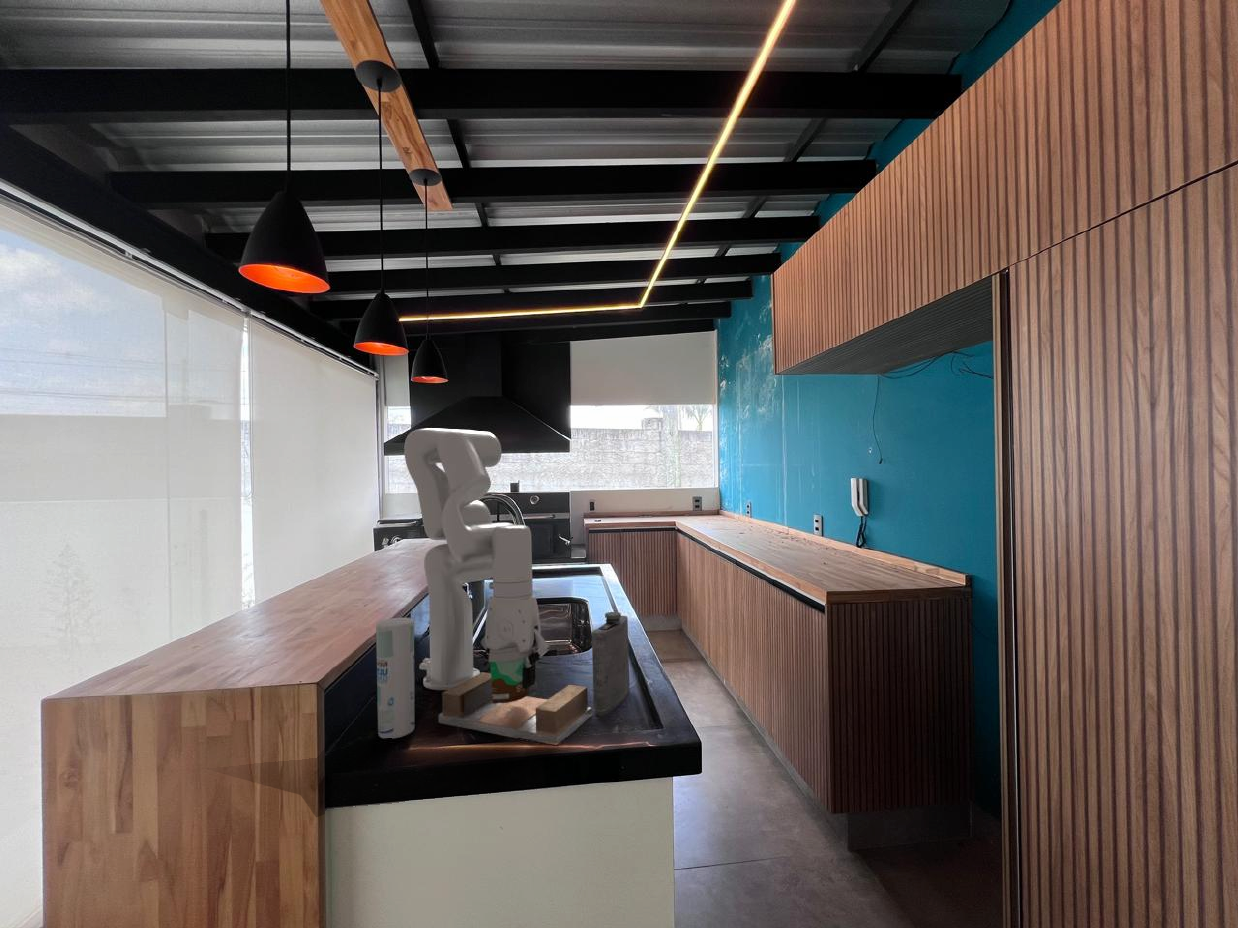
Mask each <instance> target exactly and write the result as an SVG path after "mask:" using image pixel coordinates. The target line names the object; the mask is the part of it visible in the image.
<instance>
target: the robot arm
mask: <svg viewBox="0 0 1238 928" xmlns="http://www.w3.org/2000/svg"><path fill="white" fill-rule="evenodd" d="M403 452H404V461H405V465H406V466H407V470H408V473H409V475H410V477H411V479H412V481H413V484H414V485H415V487H416V491H417V496H418V503H419V508H420V514H421V519H422V523H423V527H424V532H425V534H426V536H427V538H429V539H430V540H432V541H446V543H443V544H439V545H436V546H433V547H431V548H430V549H429V550H428V551H427V553H426V554H425V556H424V559H423V561H424V563H423V568H424V572H425V578H426V584H427V591H428V605H429V606H428V608H429V609H428V610H429V615H428V616H429V658H428V657H425V658H424V659H423V660H422V663H420V664H419V670H424V671H425V670H426V675H425V676H424V677H423V681H422V684H423V686H424V687H425V688H426V689H429V690H434V691H447V690H449V689H451V688H453V687H454V686H456V685H458V684H460V683H462V682H464V681H466V680H468V679H470V678H472V677H474V676H476V675H478V674H480V673H481V672H480V670H479V669H478V668H475V667H474V645H473V644H474V641H473V640H474V638H473V637H474V636H473V635H474V634H473V633H474V632H473V629H474V628H473V604H472V600H471V597H470V595H469V594H468V593H467V592H466V591H465V589H464V588H463V586H462V584H463V585H464V584H466V583H467V584H468V583H472V582H478V581H484V580H490V579H492V581H490V582H489V585H488V587H489V589H490V590H492V595H491V596H489V600H488V604H487V609H486V616H485V617H486V618H485V634H484V636H483V637H482V639H481V640H480V645H481V646H482V647H483V649H484V650H486V653H487V654H488V655H489V653H490V650H498V649H509V648H514V647H518V650H519V652H520V653H526V654H527V656H526V657H524V664H525V667H523V688H524V689H527V688H529V687H530V688H531V687H532V686H533V685H535V683H536V664H537V663H538V661H540V659H541V658H542V657H543V656H544V655H545V654H546V653H547V652H548V651H549V650H550V645H549V644H548V642H547V641H546V640H545V638H544V637H543V635H541V621H540V612H539V607H538V601H537V597H536V595H533V594H534V593H533V592H534V590H533V589H534V588H533V553H532V552H533V551H532V531H531V529H530V527H529V526H527V525H524V524H515V523H511V522H505V521H503V522H493V518H492V515H491V511H490V510H489V507H488V506H487V504H486V503H484V502H483V501H481V500H479V499H481V498H482V497H484V496H485V495H486V494H487V493H488V492H489V490H490V489H491V485H492V482H491V481H492V480H491V477H490V476H489V473H488V471H487V468H492V467H495V466H497V465H498V464H499V463H500V460H501V458H502V446H501V442H500V440H499V438H498V437H497V436H496V435H495V434H493V433H492V432H490V431H479V430H471V429H453V428H452V429H450V428H438V427H437V428H436V427H435V428H434V427H433V428H432V427H431V428H430V427H429V428H427V427H426V428H419V429H415V430H413V431H411V432H410V433H409V434H407V436H406V438H405V442H404V450H403ZM437 464H441V466H442V468H443V469H442V468H440V467H439V466H438V465H437ZM534 647H535V649H534ZM536 648H537V650H536ZM532 650H533V653H532V654H530V657H529V653H528V652H529V651H532Z"/></svg>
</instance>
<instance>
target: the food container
mask: <svg viewBox="0 0 1238 928" xmlns="http://www.w3.org/2000/svg"><path fill="white" fill-rule="evenodd" d="M534 649H535V650H536V647H534ZM528 653H529V657H530V654H532V653H533V650H532V651H529V652H528ZM526 656H527V654H526V653H520V652H519V650H518V647H514V648H509V649H498V650H490V653H489V654H488V663H489V664H490V673H491V681H492V696H493V703H508V702H513V701H517V700H520V699H523V698H524V697H526V696H528V695H529V694H530V689H531V686H530V687H529V688H527V689H524V688H523V667H525V664H524V657H526Z"/></svg>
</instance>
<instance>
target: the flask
mask: <svg viewBox="0 0 1238 928" xmlns="http://www.w3.org/2000/svg"><path fill="white" fill-rule="evenodd" d="M604 618H605V623H603V624H602V625H601V626H599V627H597V628H596V629H592V630H591V650H592V651H591V653H592V656H591V657H592V658H591V659H592V690H593V691H592V693H593V695H592V699H593V715H595V716H602V717H603V716H605V715H608V714H609V713H611V712H613V711H614V710H615V709H616V708H618V707H619V706H620V705H621V704H622V703H623V702H624V701H625V700H626V698H627V697H628V695H629V694H630V690H631V689H630V664H629V663H630V660H629V657H630V656H629V625H628V624H629V622H628V621H629V619H628V616H627V615H622V614H621V612H619V611H609V612H605V613H604Z"/></svg>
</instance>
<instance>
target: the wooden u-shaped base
mask: <svg viewBox="0 0 1238 928" xmlns="http://www.w3.org/2000/svg"><path fill="white" fill-rule="evenodd" d="M441 695H442V696H441V699H442V702H441V703H442V708H441V709H442V710H441V711H442V712H441V713H439V714H438V723H439V724H444V725H448V726H454V727H459V728H464V729H469V730H475V731H479V732H483V733H484V732H485V733H489V734H495V735H499V736H504V737H508V738H514V739H518V738H523V739H533V740H540V741H546V742H552V743H558V742H559V741H561V740H562V739H564V738H565V737H567V738H568V737H569V736H570V735H571V734H573V733H574V732H575V731H576V730H577V729H579V727H581V726H582V725H583V724H584V723H585V722H587V720H588V719H589V718H591V717H592V707H589V700H588V695H589V694H588V687H587V686H581V685H574V684H568V685H566V686H565V687H564V688H562V689H560V690H559V691H558V692H556V693H555V694H554V695H552V696H551V697H549V698H548V699H545V698H540V697H539V698H538V697H533V696H528V695H527V696H526V697H524V698H523V699H520V700H517V701H513V702H508V703H493V696H492V681H491V672H485V671H483V672H482V671H481V672H480V674H478V675H476V676H474V677H472V678H470V679H468V680H466V681H464V682H462V683H460V684H458V685H456V686H454V687H453V688H451V689H449V690H444V691H443V692H442V694H441ZM523 739H522V740H523Z"/></svg>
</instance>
